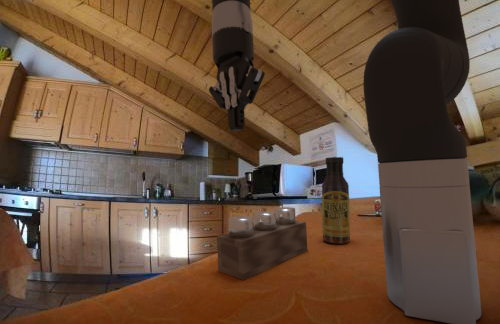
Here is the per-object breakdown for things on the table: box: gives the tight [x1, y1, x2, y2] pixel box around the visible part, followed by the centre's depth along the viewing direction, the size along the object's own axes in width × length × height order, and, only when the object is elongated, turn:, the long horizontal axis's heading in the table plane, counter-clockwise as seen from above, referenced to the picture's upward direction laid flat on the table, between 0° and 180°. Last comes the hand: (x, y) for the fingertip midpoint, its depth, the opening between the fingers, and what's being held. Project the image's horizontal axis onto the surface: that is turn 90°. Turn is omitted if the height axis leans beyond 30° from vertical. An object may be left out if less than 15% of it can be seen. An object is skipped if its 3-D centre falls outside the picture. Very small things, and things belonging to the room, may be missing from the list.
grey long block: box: [216, 220, 308, 281], centre depth 49 cm, size 19×6×6 cm, turn 136°
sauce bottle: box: [321, 156, 351, 245], centre depth 59 cm, size 6×6×20 cm
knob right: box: [273, 206, 297, 225], centre depth 54 cm, size 4×4×7 cm
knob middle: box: [253, 210, 277, 231], centre depth 49 cm, size 4×4×7 cm
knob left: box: [228, 215, 254, 238], centre depth 44 cm, size 4×4×7 cm
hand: (236, 130), depth 45 cm, fingers closed
